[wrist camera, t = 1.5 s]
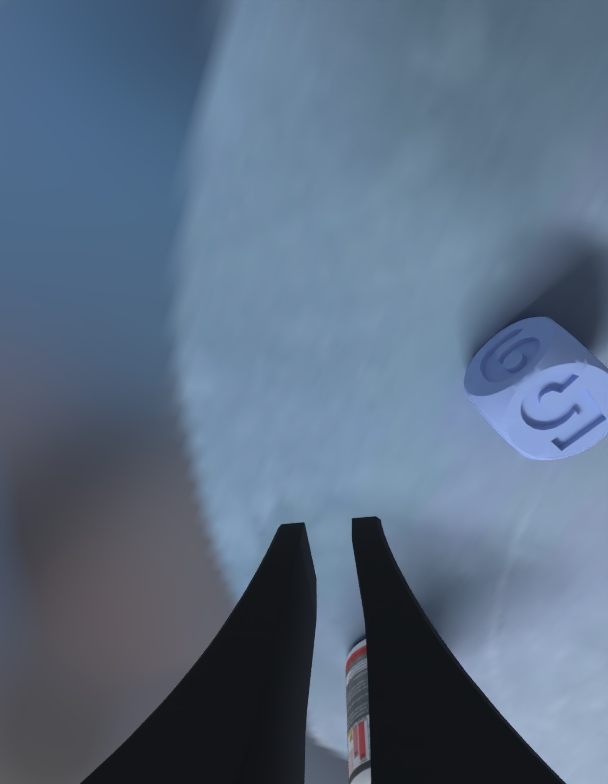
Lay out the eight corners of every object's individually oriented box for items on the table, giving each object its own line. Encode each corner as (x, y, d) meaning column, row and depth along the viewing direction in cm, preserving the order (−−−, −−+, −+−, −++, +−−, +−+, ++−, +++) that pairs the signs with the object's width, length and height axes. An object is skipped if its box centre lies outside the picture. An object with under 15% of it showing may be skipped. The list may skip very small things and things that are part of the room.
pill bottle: (329, 669, 29) (327, 889, 20) (372, 617, 27) (390, 841, 18) (408, 697, 30) (438, 921, 21) (456, 648, 27) (514, 879, 18)
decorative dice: (512, 425, 21) (549, 479, 17) (452, 371, 20) (478, 416, 16) (589, 364, 19) (648, 410, 15) (529, 302, 18) (576, 336, 14)
